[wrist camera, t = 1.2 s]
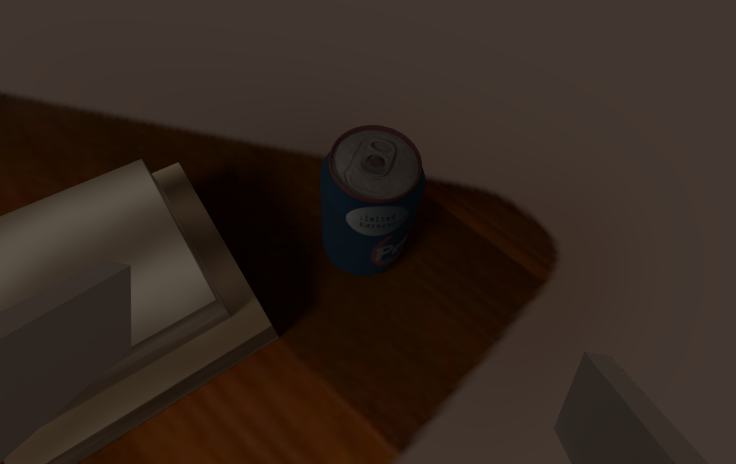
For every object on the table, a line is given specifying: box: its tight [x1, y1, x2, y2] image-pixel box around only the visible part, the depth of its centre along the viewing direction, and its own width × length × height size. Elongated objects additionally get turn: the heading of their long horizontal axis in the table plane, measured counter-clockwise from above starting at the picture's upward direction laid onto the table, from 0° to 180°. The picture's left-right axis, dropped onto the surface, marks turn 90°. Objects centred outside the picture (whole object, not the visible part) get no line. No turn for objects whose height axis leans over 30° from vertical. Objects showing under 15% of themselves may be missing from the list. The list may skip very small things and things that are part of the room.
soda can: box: [320, 125, 425, 275], centre depth 29 cm, size 7×7×12 cm
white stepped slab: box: [0, 159, 279, 464], centre depth 26 cm, size 16×16×8 cm
